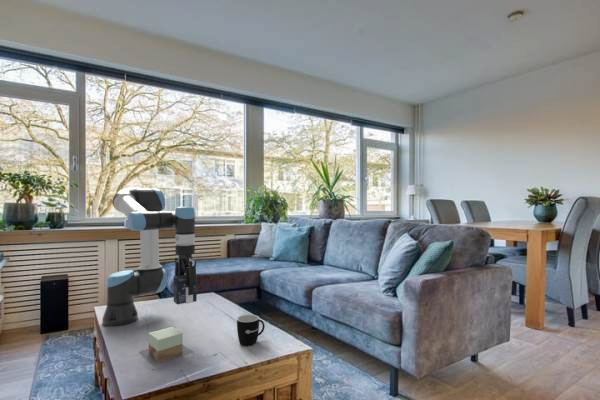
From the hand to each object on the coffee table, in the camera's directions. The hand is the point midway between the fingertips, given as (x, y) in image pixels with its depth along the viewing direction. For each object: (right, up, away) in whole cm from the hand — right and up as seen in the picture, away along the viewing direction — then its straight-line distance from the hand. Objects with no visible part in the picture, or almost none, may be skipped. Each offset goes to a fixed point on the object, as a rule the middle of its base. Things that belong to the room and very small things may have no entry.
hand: (185, 300), depth 137 cm
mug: (+27, -17, +1) cm, 32 cm away
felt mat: (-4, -17, -9) cm, 20 cm away
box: (0, -1, 0) cm, 1 cm away
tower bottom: (-3, -17, -11) cm, 20 cm away
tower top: (-3, -13, -11) cm, 17 cm away
